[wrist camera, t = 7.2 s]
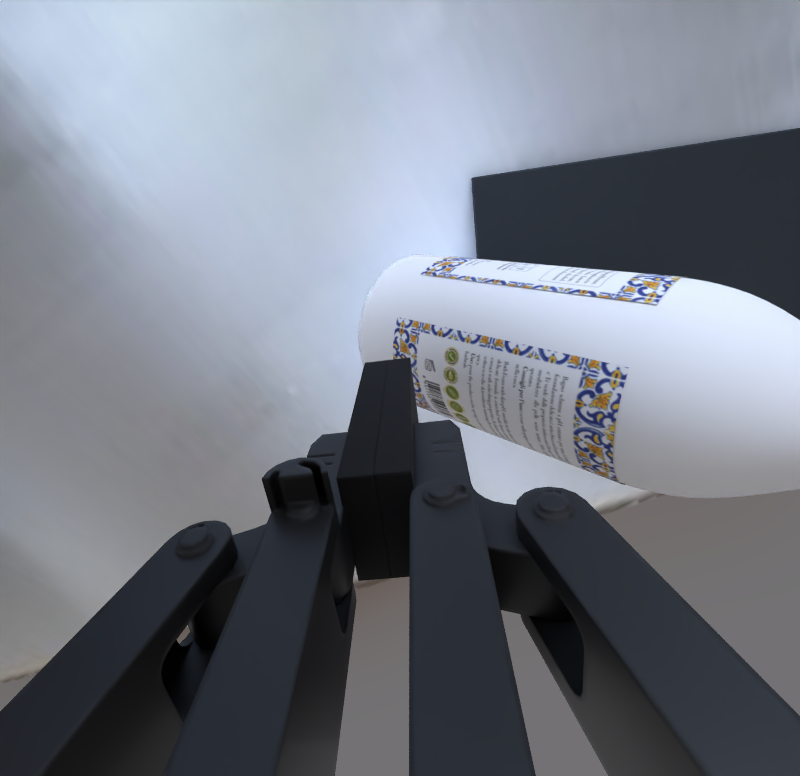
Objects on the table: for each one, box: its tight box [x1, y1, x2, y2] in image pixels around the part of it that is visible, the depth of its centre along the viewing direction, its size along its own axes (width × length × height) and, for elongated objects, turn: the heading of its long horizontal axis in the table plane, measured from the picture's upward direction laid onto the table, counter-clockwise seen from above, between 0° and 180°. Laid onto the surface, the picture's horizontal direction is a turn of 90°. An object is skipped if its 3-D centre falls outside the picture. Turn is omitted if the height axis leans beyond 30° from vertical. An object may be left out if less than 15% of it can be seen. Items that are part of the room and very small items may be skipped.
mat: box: [472, 128, 800, 320], centre depth 24 cm, size 24×12×1 cm, turn 98°
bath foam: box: [359, 255, 800, 498], centre depth 16 cm, size 7×7×20 cm
